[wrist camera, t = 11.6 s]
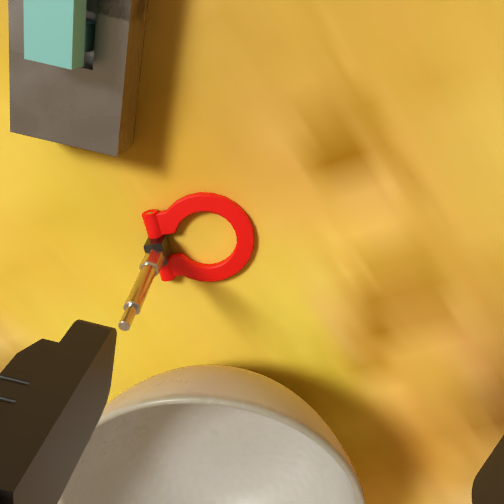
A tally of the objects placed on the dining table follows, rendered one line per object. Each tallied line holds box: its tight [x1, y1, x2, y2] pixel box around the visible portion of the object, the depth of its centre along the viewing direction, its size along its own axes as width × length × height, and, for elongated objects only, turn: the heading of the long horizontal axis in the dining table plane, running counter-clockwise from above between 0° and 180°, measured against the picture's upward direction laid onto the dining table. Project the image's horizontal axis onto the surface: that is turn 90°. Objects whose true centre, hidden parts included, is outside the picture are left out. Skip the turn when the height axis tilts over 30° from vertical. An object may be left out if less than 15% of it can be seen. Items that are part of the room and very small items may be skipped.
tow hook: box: [118, 192, 254, 331], centre depth 37 cm, size 8×13×9 cm
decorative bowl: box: [58, 365, 365, 504], centre depth 47 cm, size 27×27×12 cm
